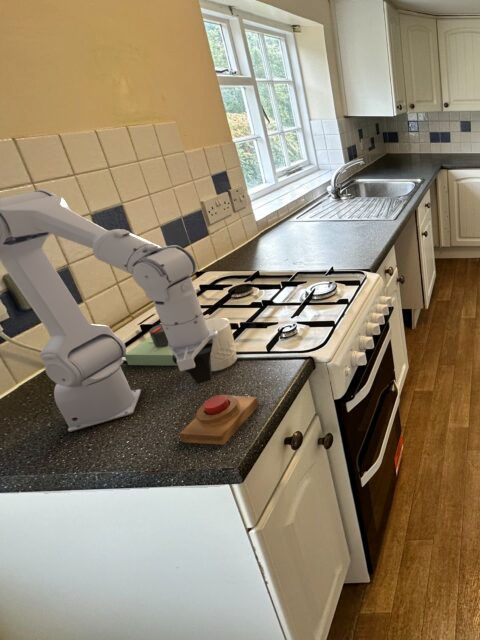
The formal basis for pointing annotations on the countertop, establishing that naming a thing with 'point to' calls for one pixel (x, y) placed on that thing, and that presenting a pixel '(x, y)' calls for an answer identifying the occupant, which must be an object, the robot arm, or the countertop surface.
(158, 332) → the dial
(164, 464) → the countertop surface
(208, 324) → the white cup
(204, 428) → the button block
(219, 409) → the button
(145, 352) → the dial panel
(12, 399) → the countertop surface
